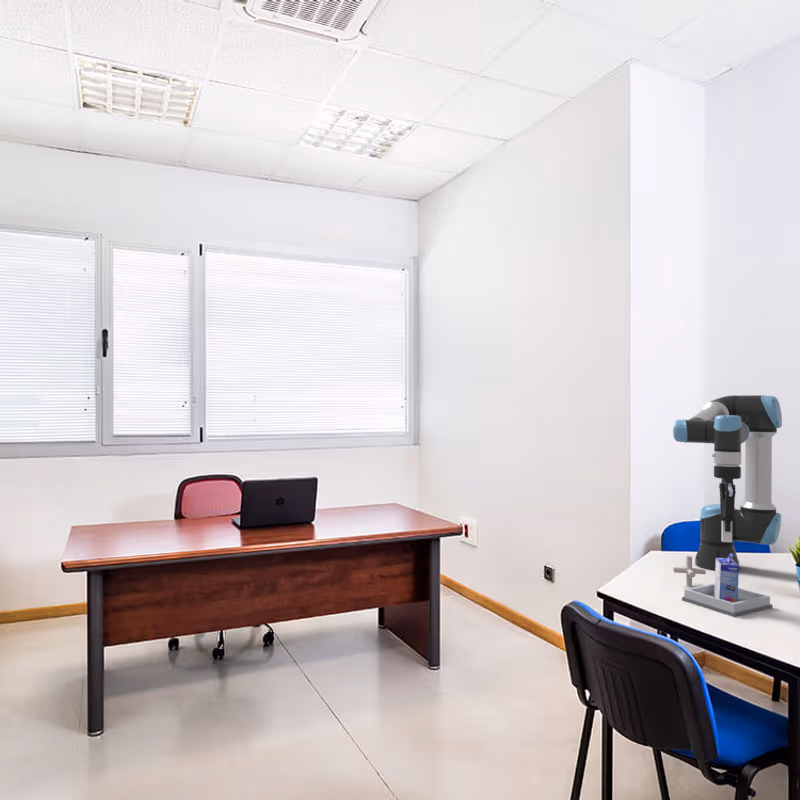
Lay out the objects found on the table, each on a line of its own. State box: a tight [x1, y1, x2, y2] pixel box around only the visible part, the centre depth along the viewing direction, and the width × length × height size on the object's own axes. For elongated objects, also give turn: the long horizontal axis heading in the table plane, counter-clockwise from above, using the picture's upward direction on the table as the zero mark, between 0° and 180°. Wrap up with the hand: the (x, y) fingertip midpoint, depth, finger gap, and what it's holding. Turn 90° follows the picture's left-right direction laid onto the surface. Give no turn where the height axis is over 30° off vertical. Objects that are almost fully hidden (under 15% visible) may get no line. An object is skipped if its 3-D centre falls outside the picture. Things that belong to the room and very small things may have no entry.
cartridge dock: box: [681, 582, 774, 618], centre depth 205 cm, size 18×18×4 cm
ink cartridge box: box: [714, 553, 740, 603], centre depth 205 cm, size 10×6×14 cm, turn 163°
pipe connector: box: [672, 555, 706, 587], centre depth 225 cm, size 10×10×10 cm
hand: (726, 541), depth 205 cm, fingers closed
